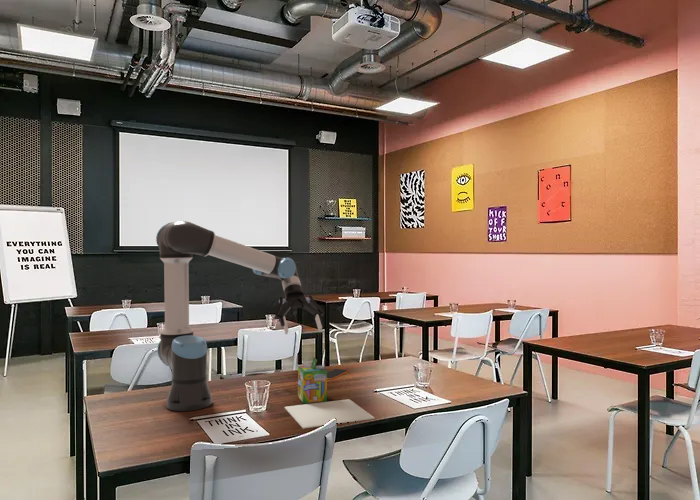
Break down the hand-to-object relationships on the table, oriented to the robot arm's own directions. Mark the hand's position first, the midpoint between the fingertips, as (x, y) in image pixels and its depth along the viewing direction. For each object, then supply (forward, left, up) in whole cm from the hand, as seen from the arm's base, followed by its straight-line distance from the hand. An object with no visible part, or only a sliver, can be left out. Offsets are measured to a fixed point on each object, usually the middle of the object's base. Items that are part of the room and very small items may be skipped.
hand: (303, 331), depth 196 cm
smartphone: (+19, +20, -24) cm, 37 cm away
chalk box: (-1, -12, -23) cm, 26 cm away
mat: (-1, -29, -23) cm, 37 cm away
